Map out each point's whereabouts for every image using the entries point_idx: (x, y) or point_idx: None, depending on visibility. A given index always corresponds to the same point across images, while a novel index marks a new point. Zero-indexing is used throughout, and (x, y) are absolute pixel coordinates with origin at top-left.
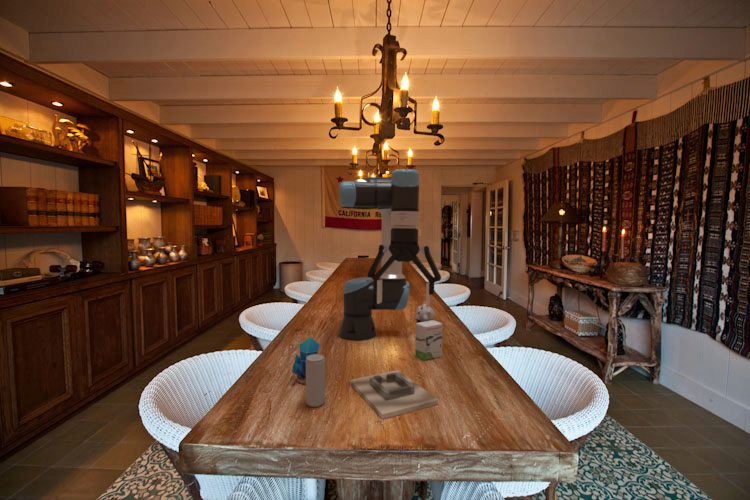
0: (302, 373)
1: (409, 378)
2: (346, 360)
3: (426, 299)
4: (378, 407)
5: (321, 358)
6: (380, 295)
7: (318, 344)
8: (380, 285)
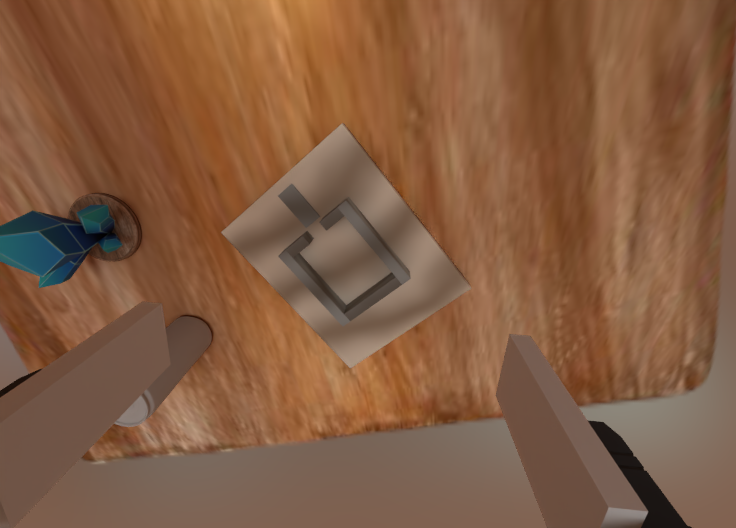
0: (85, 252)
1: (387, 182)
2: (134, 48)
3: (517, 437)
4: (335, 346)
5: (141, 406)
6: (130, 378)
7: (36, 236)
8: (60, 452)
